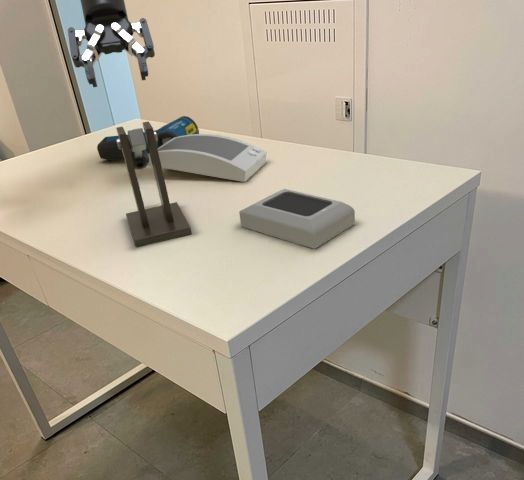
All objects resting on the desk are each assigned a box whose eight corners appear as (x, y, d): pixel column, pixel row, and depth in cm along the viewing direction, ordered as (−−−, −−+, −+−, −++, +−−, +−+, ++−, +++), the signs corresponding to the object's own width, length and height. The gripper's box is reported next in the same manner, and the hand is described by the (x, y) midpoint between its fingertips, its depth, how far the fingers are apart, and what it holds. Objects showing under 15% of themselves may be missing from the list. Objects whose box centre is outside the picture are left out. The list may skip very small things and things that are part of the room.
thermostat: (247, 183, 103) (243, 152, 99) (151, 179, 110) (144, 150, 107) (267, 163, 111) (264, 133, 107) (177, 160, 118) (171, 133, 115)
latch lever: (131, 174, 94) (125, 153, 93) (151, 169, 94) (146, 148, 94) (128, 151, 81) (121, 127, 80) (152, 146, 81) (145, 122, 81)
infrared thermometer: (130, 149, 133) (203, 143, 126) (100, 168, 123) (178, 162, 116) (121, 122, 129) (197, 114, 122) (91, 139, 120) (170, 132, 112)
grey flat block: (279, 183, 90) (354, 200, 81) (281, 205, 92) (354, 224, 83) (238, 204, 85) (313, 224, 76) (241, 226, 87) (314, 249, 78)
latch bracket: (127, 219, 94) (101, 124, 85) (178, 208, 96) (157, 113, 87) (135, 247, 85) (107, 143, 76) (191, 233, 87) (170, 130, 77)
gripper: (55, -14, 93) (72, 73, 91) (139, -24, 95) (157, 61, 93) (66, 19, 100) (82, 99, 98) (144, 9, 102) (161, 88, 100)
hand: (119, 80), depth 96 cm, fingers open, 8 cm apart
